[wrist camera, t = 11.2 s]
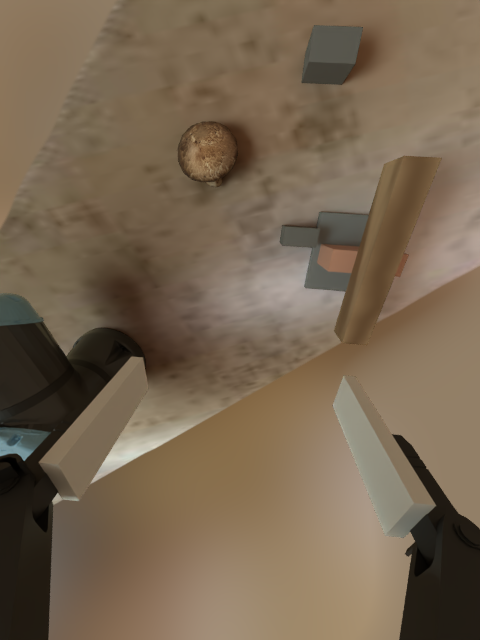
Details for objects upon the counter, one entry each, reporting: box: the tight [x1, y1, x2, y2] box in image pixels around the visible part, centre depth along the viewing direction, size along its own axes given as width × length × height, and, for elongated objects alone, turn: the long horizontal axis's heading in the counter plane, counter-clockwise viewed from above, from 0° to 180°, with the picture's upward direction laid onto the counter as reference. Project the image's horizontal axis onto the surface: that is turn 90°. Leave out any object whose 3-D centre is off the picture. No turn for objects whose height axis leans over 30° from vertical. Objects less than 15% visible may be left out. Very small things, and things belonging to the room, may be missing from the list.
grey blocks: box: [280, 25, 363, 248], centre depth 28 cm, size 5×22×4 cm, turn 177°
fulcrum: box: [304, 212, 409, 291], centre depth 32 cm, size 12×12×7 cm
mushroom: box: [178, 122, 238, 187], centre depth 28 cm, size 8×8×6 cm
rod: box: [334, 156, 442, 345], centre depth 27 cm, size 4×22×4 cm, turn 177°
